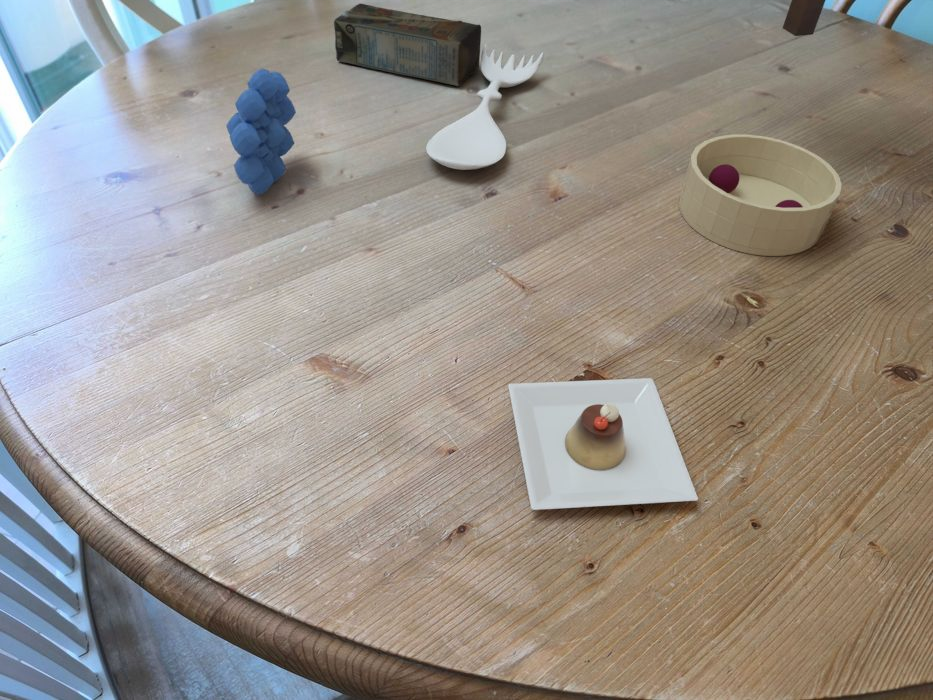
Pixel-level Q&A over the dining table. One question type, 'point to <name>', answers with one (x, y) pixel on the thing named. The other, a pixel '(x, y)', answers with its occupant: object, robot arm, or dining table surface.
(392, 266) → the dining table surface
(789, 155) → the bowl
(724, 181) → the berry
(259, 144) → the grapes
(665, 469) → the dessert
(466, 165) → the spoon
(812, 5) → the stick
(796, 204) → the berry
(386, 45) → the beverage carton
